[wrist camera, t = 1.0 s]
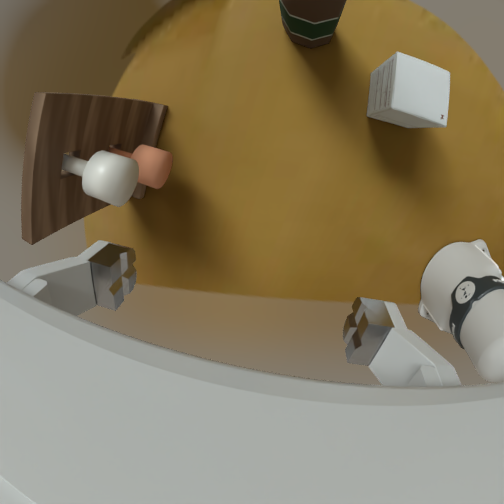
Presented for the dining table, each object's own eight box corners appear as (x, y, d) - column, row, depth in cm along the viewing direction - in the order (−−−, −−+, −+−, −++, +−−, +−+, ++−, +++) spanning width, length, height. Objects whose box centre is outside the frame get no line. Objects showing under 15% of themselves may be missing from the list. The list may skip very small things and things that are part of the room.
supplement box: (413, 85, 32) (452, 72, 20) (408, 129, 35) (447, 129, 23) (369, 71, 33) (396, 49, 21) (364, 116, 36) (391, 109, 24)
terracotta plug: (176, 150, 35) (159, 153, 31) (166, 185, 37) (150, 192, 33) (118, 134, 35) (97, 136, 31) (111, 166, 37) (90, 171, 33)
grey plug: (143, 156, 27) (116, 162, 23) (133, 200, 29) (108, 212, 25) (78, 138, 27) (49, 142, 23) (72, 177, 29) (44, 185, 25)
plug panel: (167, 105, 39) (58, 94, 17) (143, 197, 46) (42, 251, 24) (137, 99, 39) (24, 91, 17) (116, 187, 46) (13, 233, 24)
